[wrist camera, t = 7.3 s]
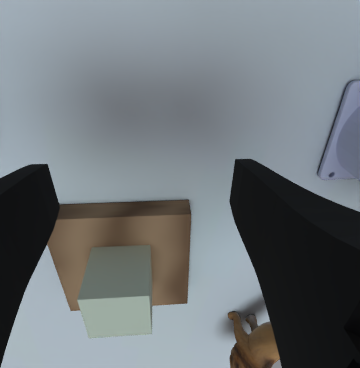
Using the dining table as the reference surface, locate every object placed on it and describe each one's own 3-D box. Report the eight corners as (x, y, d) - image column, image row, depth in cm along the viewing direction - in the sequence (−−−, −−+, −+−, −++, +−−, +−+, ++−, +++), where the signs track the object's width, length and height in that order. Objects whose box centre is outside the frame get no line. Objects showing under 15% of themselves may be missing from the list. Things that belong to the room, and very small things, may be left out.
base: (188, 199, 23) (191, 214, 22) (185, 287, 30) (187, 303, 28) (47, 205, 22) (38, 220, 21) (75, 293, 29) (70, 310, 27)
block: (150, 245, 23) (149, 295, 19) (152, 282, 26) (151, 334, 22) (91, 247, 23) (77, 299, 19) (99, 285, 25) (88, 338, 21)
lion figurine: (242, 336, 37) (264, 420, 29) (210, 329, 35) (225, 415, 27) (317, 271, 30) (371, 356, 23) (282, 257, 28) (328, 345, 21)
